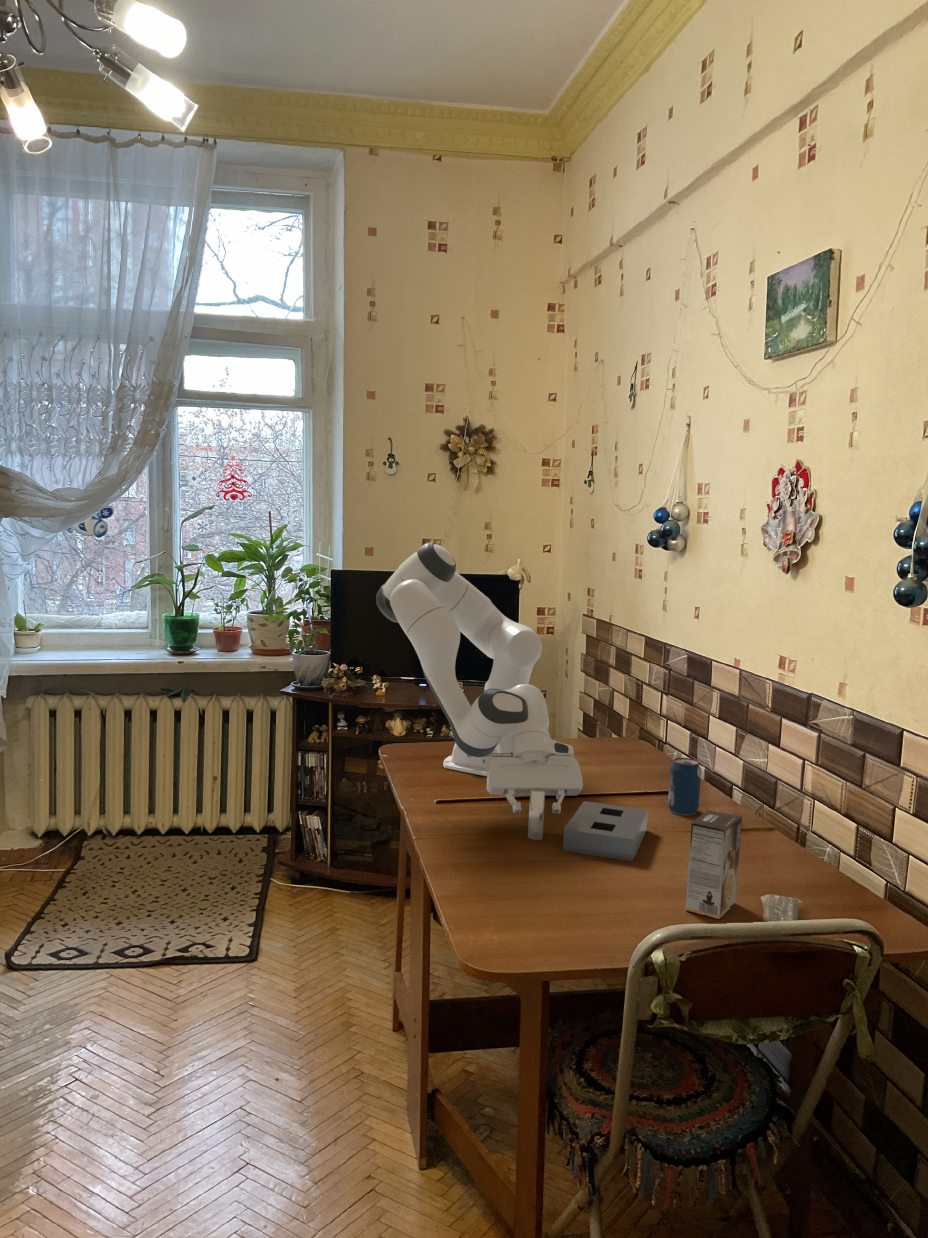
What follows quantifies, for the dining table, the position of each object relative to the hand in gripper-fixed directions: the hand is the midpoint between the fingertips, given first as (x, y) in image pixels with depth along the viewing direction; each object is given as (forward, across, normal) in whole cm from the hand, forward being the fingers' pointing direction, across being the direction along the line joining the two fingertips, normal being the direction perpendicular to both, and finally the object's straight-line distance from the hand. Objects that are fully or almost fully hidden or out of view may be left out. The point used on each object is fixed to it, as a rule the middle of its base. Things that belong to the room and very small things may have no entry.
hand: (537, 812), depth 196 cm
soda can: (-9, +38, +18) cm, 43 cm away
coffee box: (+28, +25, -20) cm, 42 cm away
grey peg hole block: (+4, +15, +4) cm, 16 cm away
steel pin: (+4, 0, +4) cm, 6 cm away
